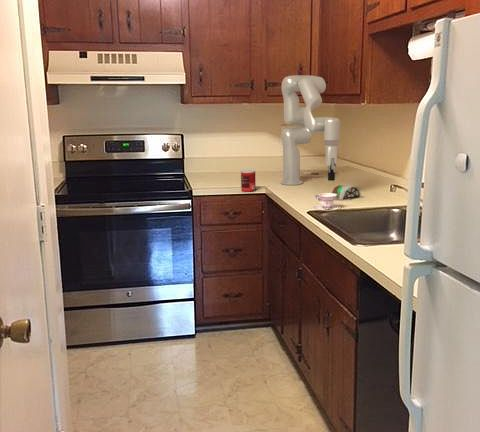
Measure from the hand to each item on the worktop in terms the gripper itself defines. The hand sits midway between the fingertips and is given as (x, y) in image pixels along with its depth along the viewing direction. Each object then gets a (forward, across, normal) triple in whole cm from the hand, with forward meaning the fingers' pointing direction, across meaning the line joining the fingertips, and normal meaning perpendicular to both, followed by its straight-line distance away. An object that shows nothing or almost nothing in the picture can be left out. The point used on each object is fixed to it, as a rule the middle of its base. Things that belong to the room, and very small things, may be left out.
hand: (331, 180), depth 270 cm
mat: (+8, +7, 0) cm, 10 cm away
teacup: (+8, +30, -5) cm, 31 cm away
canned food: (+8, -15, -42) cm, 45 cm away
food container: (+4, +2, +4) cm, 6 cm away
